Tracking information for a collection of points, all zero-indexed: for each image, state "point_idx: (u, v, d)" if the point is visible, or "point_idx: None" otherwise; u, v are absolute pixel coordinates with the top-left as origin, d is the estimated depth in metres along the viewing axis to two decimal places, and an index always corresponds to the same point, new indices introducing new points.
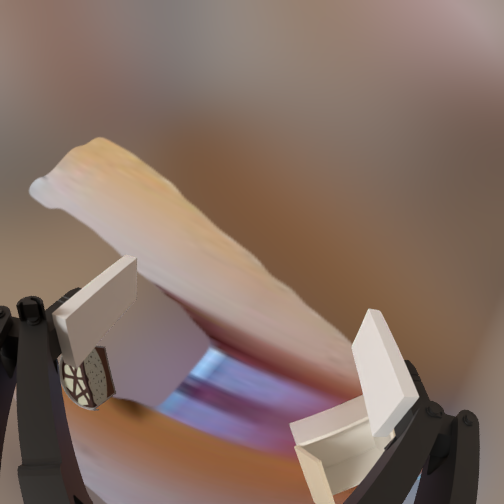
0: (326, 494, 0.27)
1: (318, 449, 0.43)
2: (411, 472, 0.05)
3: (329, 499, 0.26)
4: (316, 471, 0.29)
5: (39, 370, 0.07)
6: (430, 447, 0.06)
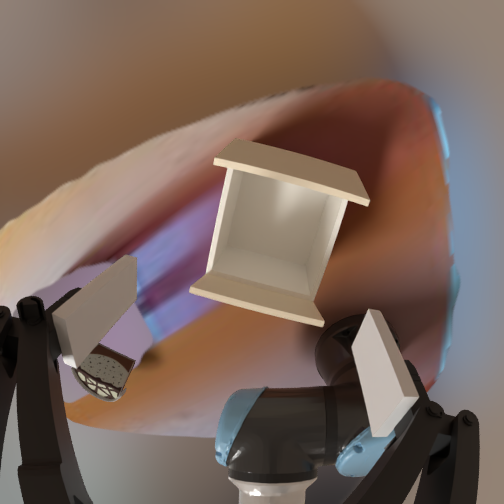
0: None
1: (277, 237, 0.41)
2: (411, 472, 0.05)
3: (268, 313, 0.26)
4: None
5: (39, 370, 0.07)
6: (430, 447, 0.06)
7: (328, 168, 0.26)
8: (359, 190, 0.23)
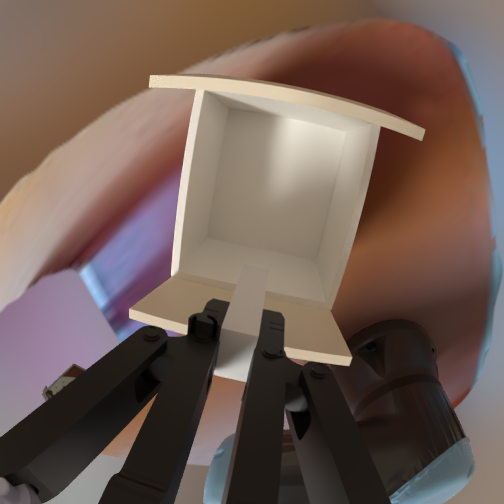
0: None
1: (274, 223, 0.30)
2: (274, 421, 0.07)
3: None
4: None
5: (189, 392, 0.08)
6: (283, 390, 0.09)
7: (343, 98, 0.15)
8: (402, 119, 0.12)
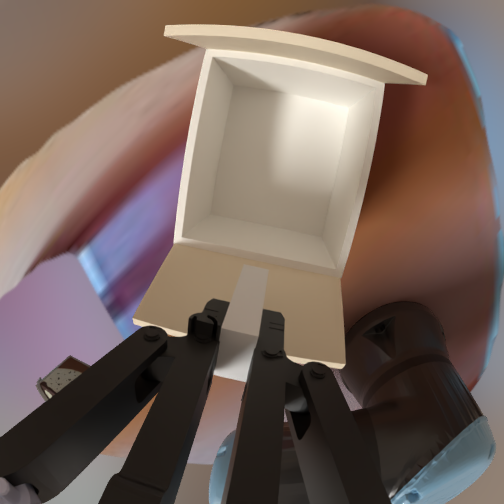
0: None
1: (279, 198, 0.29)
2: (274, 421, 0.07)
3: None
4: None
5: (190, 392, 0.08)
6: (283, 390, 0.09)
7: None
8: None
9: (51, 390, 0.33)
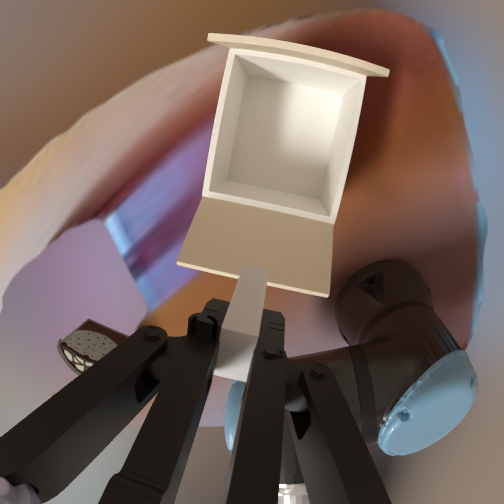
0: None
1: (284, 167, 0.34)
2: (274, 421, 0.07)
3: None
4: None
5: (189, 392, 0.08)
6: (283, 390, 0.09)
7: None
8: None
9: (71, 349, 0.40)
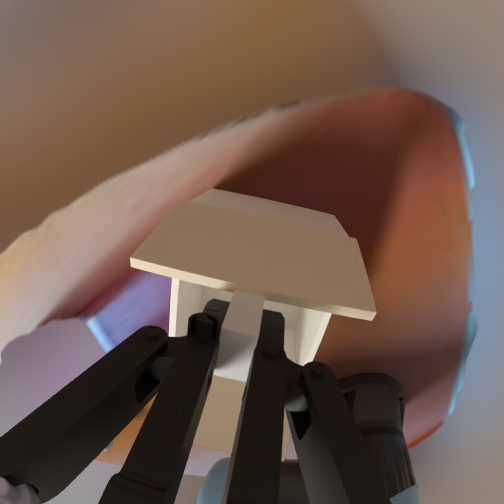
0: None
1: None
2: (274, 421, 0.07)
3: (227, 451, 0.22)
4: None
5: (189, 392, 0.08)
6: (283, 390, 0.09)
7: (314, 245, 0.18)
8: (360, 291, 0.15)
9: None
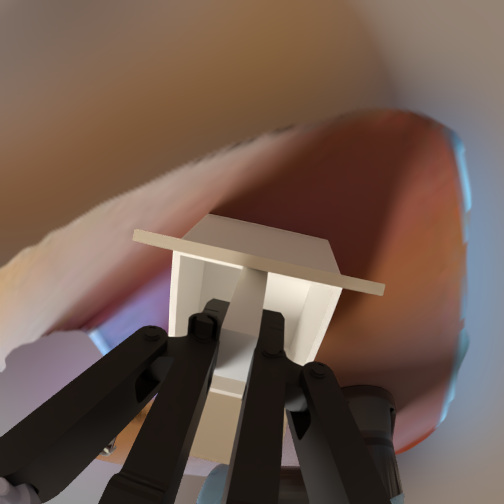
0: None
1: None
2: (274, 421, 0.07)
3: (223, 463, 0.23)
4: None
5: (189, 392, 0.08)
6: (283, 390, 0.09)
7: None
8: None
9: None
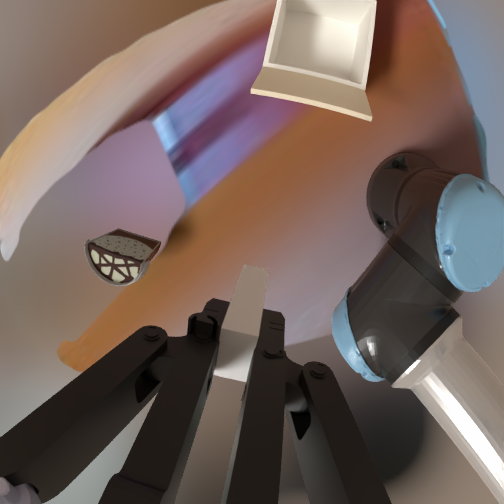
0: None
1: (317, 71, 0.37)
2: (274, 421, 0.07)
3: (322, 106, 0.26)
4: None
5: (190, 392, 0.08)
6: (283, 390, 0.09)
7: None
8: None
9: (100, 247, 0.42)
